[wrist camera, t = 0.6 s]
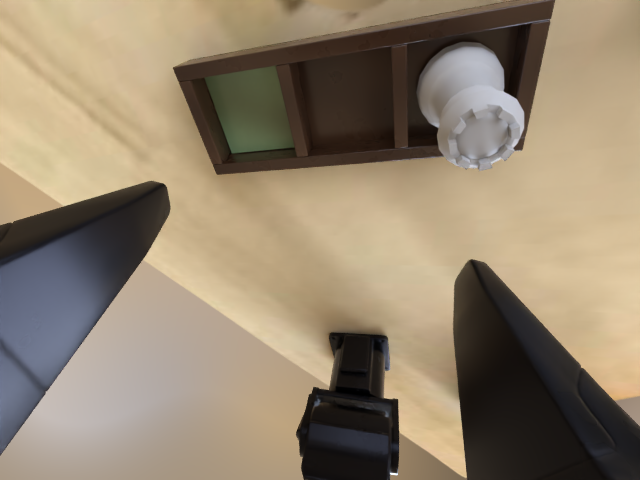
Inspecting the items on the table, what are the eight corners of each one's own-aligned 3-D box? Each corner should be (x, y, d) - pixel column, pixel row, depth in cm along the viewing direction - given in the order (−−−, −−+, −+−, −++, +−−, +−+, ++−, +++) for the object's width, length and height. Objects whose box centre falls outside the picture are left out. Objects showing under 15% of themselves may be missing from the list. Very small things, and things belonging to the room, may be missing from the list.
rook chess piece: (452, 138, 21) (473, 209, 14) (400, 91, 19) (399, 147, 13) (518, 77, 18) (578, 134, 12) (462, 19, 17) (497, 48, 11)
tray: (513, 136, 20) (522, 151, 18) (228, 162, 25) (216, 175, 23) (540, -5, 16) (556, -2, 14) (189, 59, 21) (172, 67, 19)
